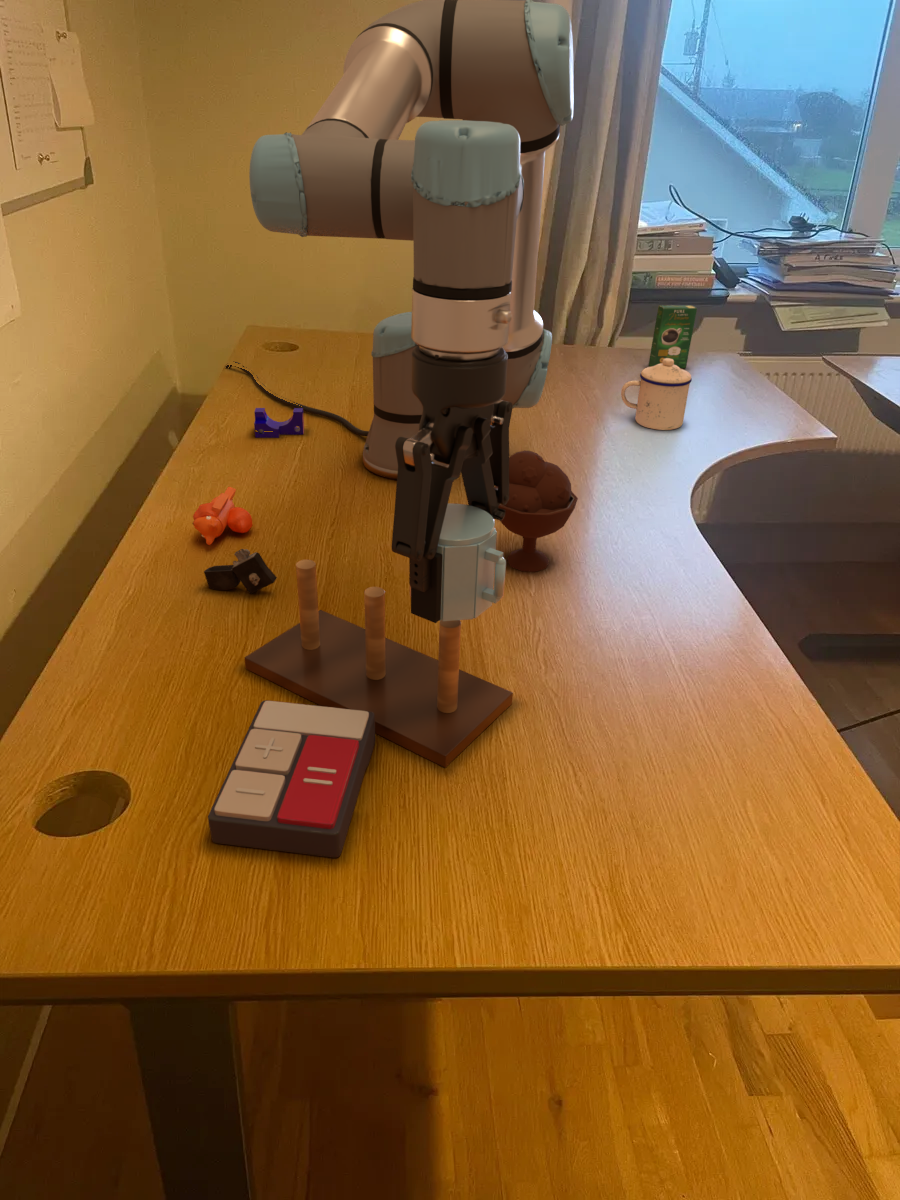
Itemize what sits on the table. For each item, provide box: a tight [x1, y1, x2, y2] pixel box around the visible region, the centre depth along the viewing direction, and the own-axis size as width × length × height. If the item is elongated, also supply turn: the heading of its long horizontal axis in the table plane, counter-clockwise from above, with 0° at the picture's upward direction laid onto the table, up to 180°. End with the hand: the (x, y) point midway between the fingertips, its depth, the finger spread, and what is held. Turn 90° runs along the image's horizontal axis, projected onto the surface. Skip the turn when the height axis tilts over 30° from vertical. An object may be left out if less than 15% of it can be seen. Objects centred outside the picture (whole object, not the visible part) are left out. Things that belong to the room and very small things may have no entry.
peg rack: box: [244, 559, 514, 768], centre depth 90 cm, size 26×12×12 cm, turn 55°
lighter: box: [203, 548, 278, 595], centre depth 107 cm, size 8×2×5 cm
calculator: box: [207, 700, 376, 859], centre depth 79 cm, size 11×4×15 cm
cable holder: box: [253, 407, 305, 439], centre depth 152 cm, size 8×4×4 cm, turn 94°
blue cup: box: [409, 502, 507, 622], centre depth 79 cm, size 9×7×8 cm
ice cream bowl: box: [494, 450, 579, 573], centre depth 113 cm, size 11×11×15 cm
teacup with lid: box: [620, 358, 693, 431], centre depth 160 cm, size 12×9×12 cm
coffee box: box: [648, 304, 698, 369], centre depth 189 cm, size 8×3×13 cm, turn 103°
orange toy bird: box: [192, 486, 253, 546], centre depth 120 cm, size 5×8×12 cm
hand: (451, 597), depth 81 cm, fingers closed on blue cup, 7 cm apart
